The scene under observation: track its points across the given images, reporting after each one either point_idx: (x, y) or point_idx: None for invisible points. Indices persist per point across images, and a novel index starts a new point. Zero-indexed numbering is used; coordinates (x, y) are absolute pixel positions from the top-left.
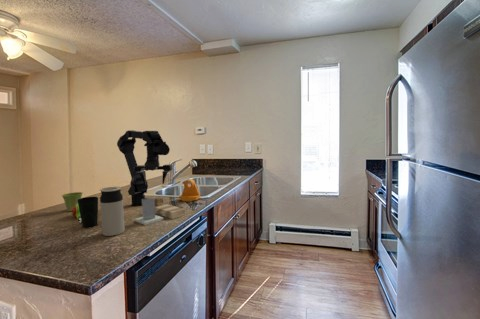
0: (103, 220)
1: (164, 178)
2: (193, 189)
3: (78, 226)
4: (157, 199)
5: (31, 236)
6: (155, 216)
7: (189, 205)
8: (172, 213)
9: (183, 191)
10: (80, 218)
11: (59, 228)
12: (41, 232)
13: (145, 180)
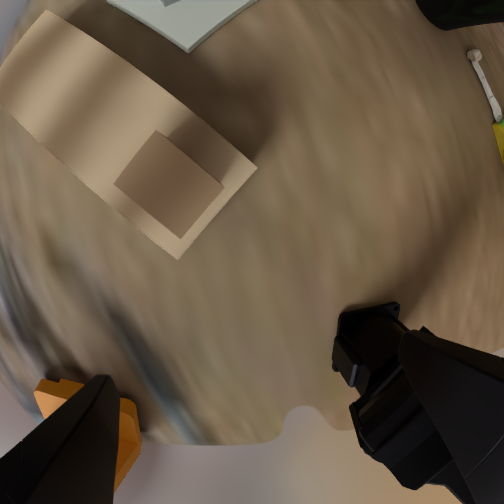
0: None
1: (27, 436)
2: None
3: None
4: (161, 134)
5: None
6: (155, 6)
7: (32, 302)
8: (48, 13)
9: (124, 457)
10: (498, 111)
11: (488, 36)
12: (497, 26)
13: (437, 386)
